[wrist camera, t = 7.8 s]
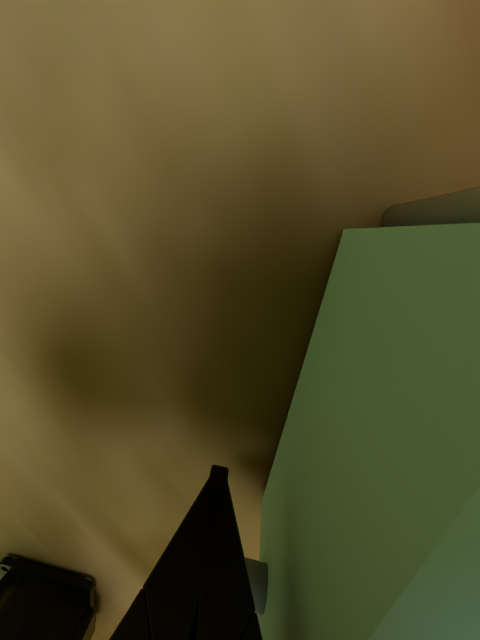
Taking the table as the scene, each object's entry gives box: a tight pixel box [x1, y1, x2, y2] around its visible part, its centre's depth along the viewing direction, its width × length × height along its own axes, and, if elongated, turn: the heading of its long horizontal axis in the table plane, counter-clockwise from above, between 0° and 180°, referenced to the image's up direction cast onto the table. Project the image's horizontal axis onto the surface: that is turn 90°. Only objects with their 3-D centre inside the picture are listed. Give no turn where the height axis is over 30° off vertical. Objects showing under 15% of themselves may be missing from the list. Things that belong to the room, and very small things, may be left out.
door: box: [244, 223, 480, 640], centre depth 7 cm, size 12×2×7 cm, turn 170°
